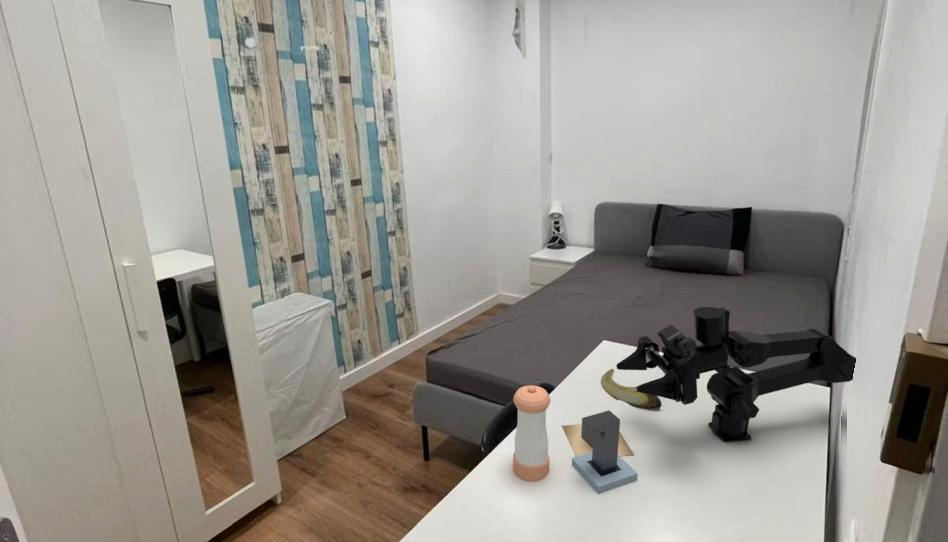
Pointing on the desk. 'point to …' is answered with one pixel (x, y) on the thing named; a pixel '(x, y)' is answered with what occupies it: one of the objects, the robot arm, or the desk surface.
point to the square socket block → (606, 482)
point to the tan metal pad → (583, 448)
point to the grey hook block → (602, 440)
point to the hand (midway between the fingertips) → (626, 377)
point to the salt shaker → (531, 434)
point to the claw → (628, 393)
